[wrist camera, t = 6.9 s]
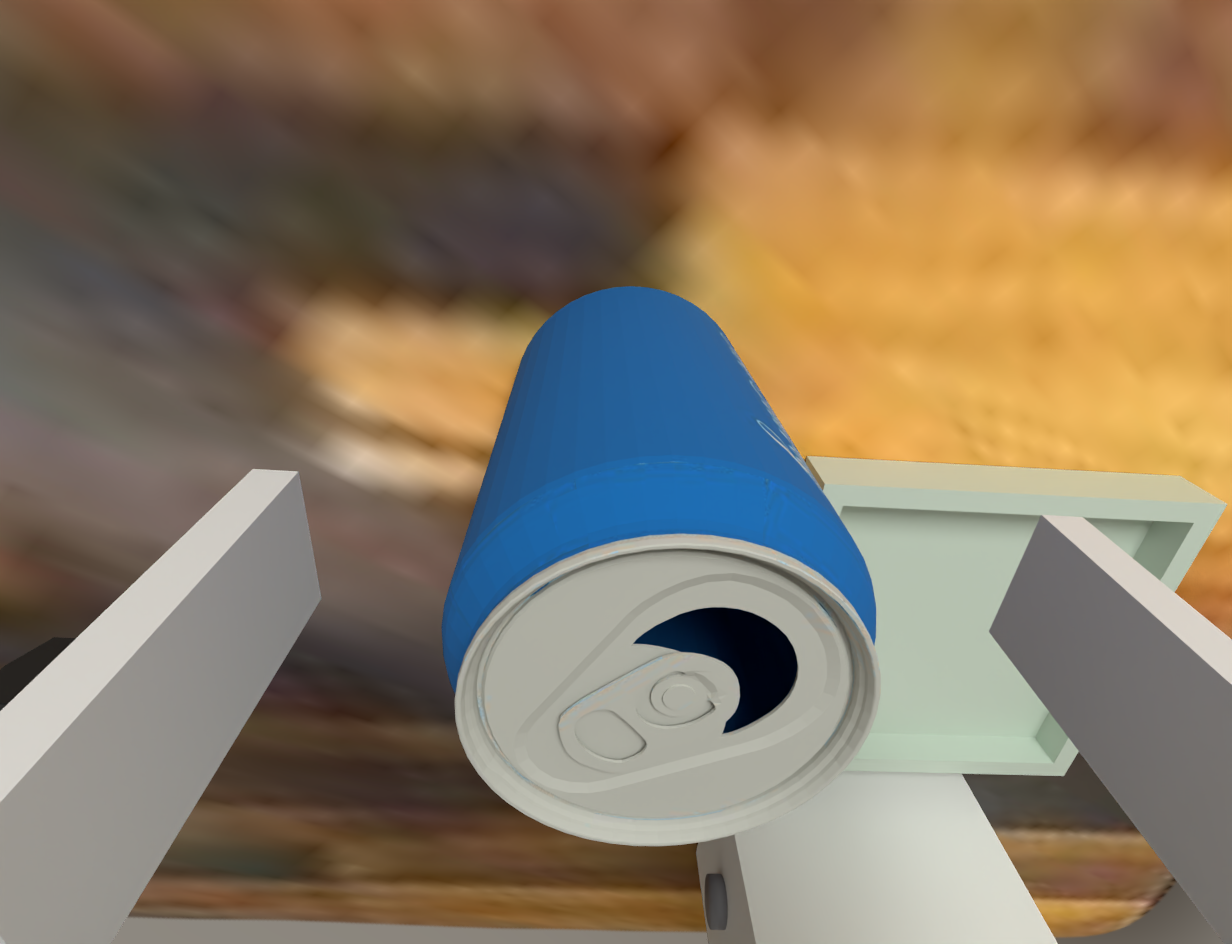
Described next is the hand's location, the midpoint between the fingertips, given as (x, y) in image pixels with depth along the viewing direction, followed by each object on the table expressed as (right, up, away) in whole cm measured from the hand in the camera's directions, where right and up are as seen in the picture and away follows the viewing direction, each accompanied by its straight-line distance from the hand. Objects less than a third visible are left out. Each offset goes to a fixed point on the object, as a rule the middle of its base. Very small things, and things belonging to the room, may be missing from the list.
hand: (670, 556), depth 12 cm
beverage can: (-1, +4, +7) cm, 9 cm away
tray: (+11, -4, +12) cm, 16 cm away
